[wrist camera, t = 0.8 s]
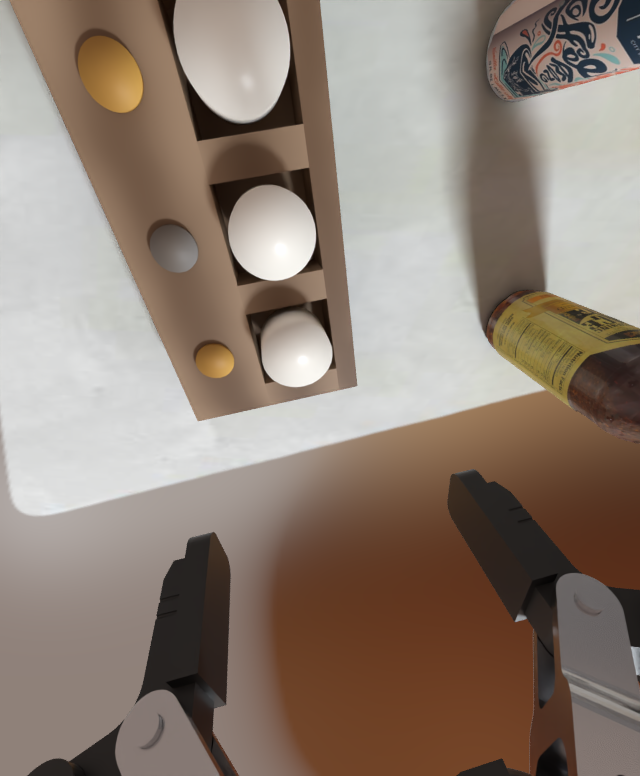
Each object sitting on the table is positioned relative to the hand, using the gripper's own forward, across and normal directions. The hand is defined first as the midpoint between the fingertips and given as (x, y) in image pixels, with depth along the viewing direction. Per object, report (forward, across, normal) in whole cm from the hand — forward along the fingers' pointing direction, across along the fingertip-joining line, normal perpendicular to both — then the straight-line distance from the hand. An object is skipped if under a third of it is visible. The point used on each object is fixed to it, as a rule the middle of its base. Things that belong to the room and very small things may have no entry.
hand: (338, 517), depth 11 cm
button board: (+19, +2, -7) cm, 20 cm away
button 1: (+15, 0, -14) cm, 20 cm away
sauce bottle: (+19, -20, +4) cm, 28 cm away
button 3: (+15, 0, 0) cm, 15 cm away
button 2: (+15, 0, -7) cm, 16 cm away
